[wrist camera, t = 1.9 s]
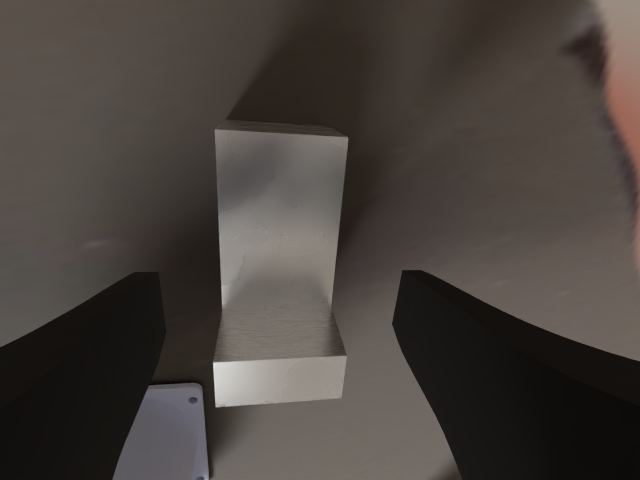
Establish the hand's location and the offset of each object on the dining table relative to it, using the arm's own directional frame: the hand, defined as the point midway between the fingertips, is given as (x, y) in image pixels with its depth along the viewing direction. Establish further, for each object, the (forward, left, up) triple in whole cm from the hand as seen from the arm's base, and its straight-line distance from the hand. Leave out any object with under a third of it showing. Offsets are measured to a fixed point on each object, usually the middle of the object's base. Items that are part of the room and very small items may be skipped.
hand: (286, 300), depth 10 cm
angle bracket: (0, 0, -7) cm, 7 cm away
